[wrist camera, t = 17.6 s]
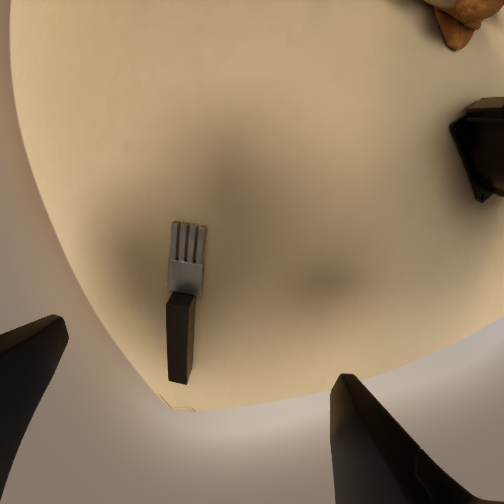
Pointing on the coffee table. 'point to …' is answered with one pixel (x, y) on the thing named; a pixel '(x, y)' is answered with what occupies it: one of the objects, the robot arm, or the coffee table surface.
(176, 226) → the fork
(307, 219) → the coffee table surface
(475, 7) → the stuffed squirrel
